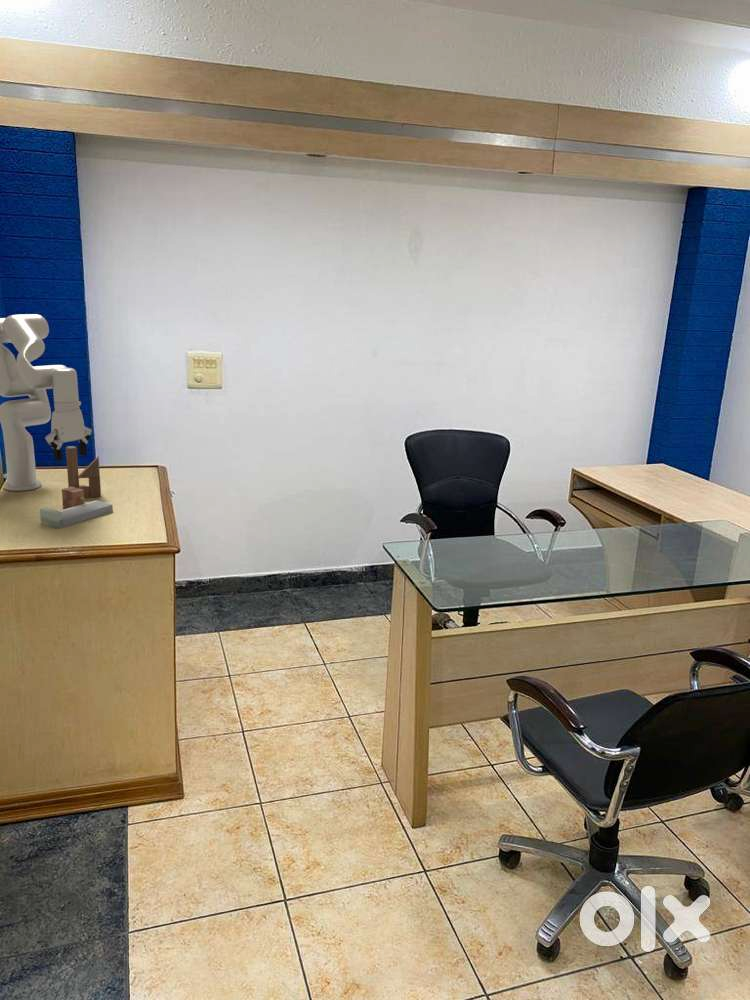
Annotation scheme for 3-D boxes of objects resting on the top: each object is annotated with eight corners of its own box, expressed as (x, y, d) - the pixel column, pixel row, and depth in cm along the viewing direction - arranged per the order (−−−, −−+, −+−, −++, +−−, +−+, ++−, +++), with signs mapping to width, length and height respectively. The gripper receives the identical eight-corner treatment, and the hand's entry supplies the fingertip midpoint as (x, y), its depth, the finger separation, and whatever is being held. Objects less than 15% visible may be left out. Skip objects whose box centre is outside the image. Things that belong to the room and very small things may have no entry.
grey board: (40, 523, 252) (39, 508, 250) (96, 507, 270) (95, 493, 268) (57, 528, 248) (56, 513, 246) (112, 511, 266) (112, 497, 265)
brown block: (63, 509, 267) (61, 489, 264) (72, 506, 270) (71, 486, 268) (80, 514, 262) (78, 493, 260) (89, 511, 266) (88, 491, 264)
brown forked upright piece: (100, 497, 281) (97, 447, 275) (68, 498, 278) (64, 448, 273) (101, 494, 284) (98, 445, 279) (69, 495, 281) (65, 445, 276)
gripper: (80, 402, 265) (84, 451, 270) (36, 408, 251) (41, 461, 256) (96, 404, 262) (99, 454, 267) (51, 411, 247) (56, 464, 252)
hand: (71, 457), depth 261 cm, fingers open, 9 cm apart
